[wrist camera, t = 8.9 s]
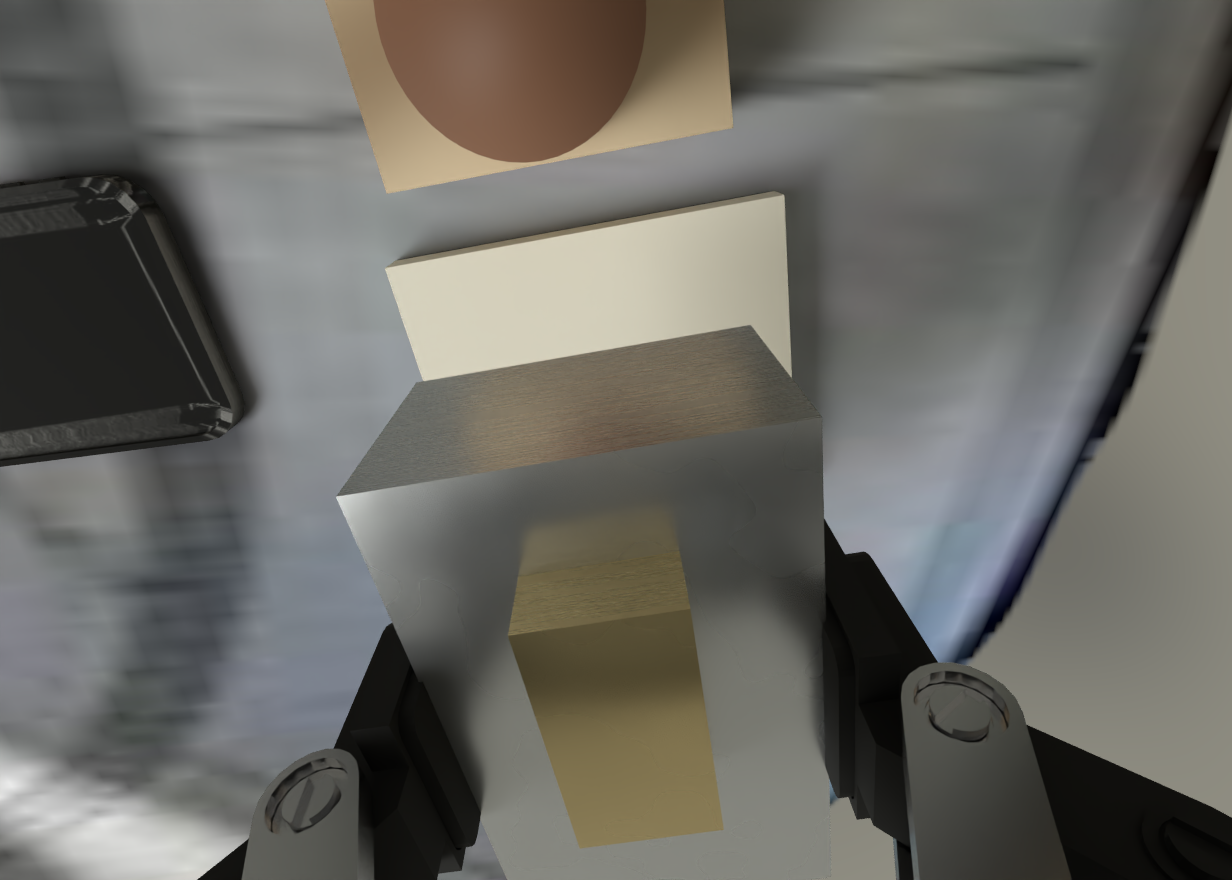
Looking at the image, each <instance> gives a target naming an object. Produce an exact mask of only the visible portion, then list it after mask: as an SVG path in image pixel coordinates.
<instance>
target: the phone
mask: <svg viewBox="0 0 1232 880" xmlns="http://www.w3.org/2000/svg"><path fill="white" fill-rule="evenodd" d="M39 181H40V183H37V184H30V185H25V183H24V182H17V183H10V184H3V185H0V467H3V466H11V465H19V464H26V463H34V462H42V461H50V460H58V459H66V458H74V457H82V456H90V455H98V454H106V453H114V452H122V451H130V450H138V449H146V448H154V447H161V446H169V445H177V444H185V443H193V442H201V441H209V440H213V439H216V438H219V437H221V436H222V435H223V434H225V433H226V432H227V431H229V430H230V429H231V428H232V427H233V426H235V425H236V424H237V423H238V422H239V421H240V419H241V418H242V416H243V414H244V407H245V402H244V399H243V395H242V392H241V390H240V387H239V385H238V383H237V381H236V378H235V376H234V374H233V371H232V369H231V367H230V365H229V362H228V360H227V358H226V356H225V353H224V351H223V349H222V346H221V344H220V342H219V340H218V337H217V335H216V333H215V331H214V328H213V326H212V324H211V321H210V319H209V317H208V315H207V312H206V310H205V308H204V306H203V303H202V301H201V299H200V296H199V294H198V292H197V290H196V287H195V285H194V283H193V281H192V278H191V276H190V274H189V271H188V269H187V267H186V265H185V262H184V260H183V258H182V256H181V253H180V251H179V249H178V246H177V244H176V242H175V240H174V237H173V235H172V233H171V231H170V228H169V226H168V224H167V221H166V219H165V217H164V215H163V213H162V211H161V210H160V208H159V206H158V205H157V203H156V201H155V200H154V199H153V198H152V197H151V196H150V195H149V194H148V193H147V192H146V191H145V190H144V189H143V188H141V187H140V186H138V185H137V184H135V183H133V182H132V181H130V180H128V179H125V178H122V177H119V176H116V175H97V176H88V177H79V178H72V179H66V178H65V177H57V178H50V179H43V180H39Z"/></svg>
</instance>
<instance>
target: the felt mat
mask: <svg viewBox="0 0 1232 880" xmlns="http://www.w3.org/2000/svg"><path fill="white" fill-rule="evenodd" d="M385 270H386V273H387V276H388V279H389V282H390V285H391V288H392V290H393V293H394V296H395V299H396V302H397V305H398V308H399V311H400V314H401V317H402V320H403V323H404V326H405V329H406V332H407V335H408V338H409V340H410V343H411V346H412V349H413V352H414V355H415V358H416V361H417V364H418V367H419V370H420V373H421V376H422V379H423V381H428V380H434V379H440V378H446V377H451V376H457V375H463V374H469V373H475V372H480V371H486V370H492V369H498V368H503V367H509V366H515V365H521V364H527V363H532V362H538V361H544V360H550V359H556V358H561V357H567V356H573V355H579V354H585V353H590V352H596V351H602V350H608V349H613V348H619V347H625V346H631V345H637V344H642V343H648V342H654V341H660V340H666V339H671V338H677V337H683V336H689V335H695V334H700V333H706V332H712V331H718V330H723V329H729V328H735V327H741V326H747V325H751V326H752V327H753V329H754V330H755V331H756V332H757V334H758V335H759V336H760V338H761V339H762V340H763V342H764V343H765V344H766V345H767V347H768V348H769V349H770V351H771V352H772V353H773V354H774V356H775V357H776V358H777V360H778V361H779V362H780V364H781V365H782V366H783V367H784V369H785V370H786V371H787V373H788V374H789V375H790V377H791V378H792V369H791V345H790V320H789V296H788V272H787V247H786V223H785V198H784V195H783V194H781V193H778V192H776V191H772V192H767V193H761V194H756V195H750V196H745V197H740V198H734V199H729V200H723V201H718V202H712V203H707V204H702V205H696V206H691V207H685V208H680V209H674V210H669V211H664V212H658V213H653V214H647V215H642V216H636V217H631V218H626V219H620V220H615V221H609V222H604V223H598V224H593V225H587V226H582V227H577V228H571V229H566V230H560V231H555V232H549V233H544V234H539V235H533V236H528V237H522V238H517V239H511V240H506V241H501V242H495V243H490V244H484V245H479V246H473V247H468V248H462V249H457V250H452V251H446V252H441V253H435V254H430V255H424V256H419V257H414V258H408V259H403V260H397V261H394V262H393V263H392V264H390V265H389V266H387V267H386V268H385Z"/></svg>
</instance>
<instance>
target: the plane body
mask: <svg viewBox="0 0 1232 880" xmlns="http://www.w3.org/2000/svg"><path fill="white" fill-rule="evenodd" d="M325 2H326V5H327V8H328V11H329V14H330V18H331V21H332V24H333V27H334V30H335V33H336V36H337V39H338V42H339V46H340V49H341V52H342V55H343V58H344V61H345V64H346V67H347V71H348V74H349V77H350V80H351V83H352V86H353V89H354V92H355V95H356V99H357V102H358V105H359V108H360V111H361V114H362V117H363V120H364V124H365V127H366V130H367V133H368V136H369V139H370V142H371V145H372V148H373V152H374V155H375V158H376V161H377V164H378V167H379V170H380V173H381V177H382V180H383V183H384V186H385V189H386V192H387V194H388V193H393V192H398V191H404V190H409V189H414V188H419V187H425V186H430V185H435V184H440V183H446V182H451V181H456V180H462V179H467V178H472V177H477V176H483V175H488V174H493V173H498V172H504V171H509V170H514V169H519V168H525V167H530V166H535V165H540V164H546V163H551V162H556V161H562V160H567V159H572V158H577V157H583V156H588V155H593V154H598V153H604V152H609V151H614V150H619V149H625V148H630V147H635V146H640V145H646V144H651V143H656V142H662V141H667V140H672V139H677V138H683V137H688V136H693V135H698V134H704V133H709V132H714V131H719V130H725V129H730V128H733V118H732V104H731V91H730V77H729V64H728V50H727V36H726V23H725V9H724V0H325Z"/></svg>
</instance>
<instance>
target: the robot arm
mask: <svg viewBox="0 0 1232 880" xmlns="http://www.w3.org/2000/svg"><path fill="white" fill-rule="evenodd" d="M824 550H825V600H826V623H822V653H823V694H824V735H825V767H826V770H827V773H828V776H829V779H830V782H831V784H832V787H833V790H834V792H835V794H836V796H837V797H838V798H844V797H849V799H850V802H851V805H852V808H853V810H854V813H855V816H856V818H857V819H865V818H871V820H872V823H873V825H874V826H876V827H877V828H879V829H880V830H882V831H884V832H885V833H887V834H889V835H890V836H892V837H893V844H894V856H895V870H896V880H1232V818H1231V817H1229V816H1227V815H1226V814H1224V813H1222V812H1220V811H1218V810H1216V809H1214V808H1213V807H1211V806H1208V805H1206V804H1203V803H1202V802H1199V801H1197V800H1195V799H1193V798H1190V797H1188V796H1186V795H1184V794H1181V793H1179V792H1177V791H1175V790H1172V789H1170V788H1168V787H1165V786H1163V785H1161V784H1159V783H1157V782H1154V781H1152V780H1150V779H1147V778H1145V777H1143V776H1141V775H1138V774H1136V773H1134V772H1132V771H1129V770H1127V769H1125V768H1123V767H1120V766H1118V765H1116V764H1114V763H1111V762H1109V761H1107V760H1105V759H1102V758H1100V757H1098V756H1095V755H1093V754H1091V753H1089V752H1086V751H1084V750H1082V749H1080V748H1078V747H1075V746H1073V745H1071V744H1069V743H1066V742H1064V741H1062V740H1060V739H1057V738H1055V737H1053V736H1050V735H1048V734H1046V733H1044V732H1042V731H1039V730H1037V729H1035V728H1033V727H1030V726H1028V725H1026V722H1025V718H1024V715H1023V712H1022V710H1021V708H1020V706H1019V704H1018V702H1017V700H1016V698H1015V697H1014V696H1013V695H1012V693H1011V692H1010V691H1009V690H1008V689H1007V688H1006V687H1005V686H1004V685H1003V684H1001V683H1000V682H999V681H997V680H996V679H994V678H993V677H991V676H990V675H988V674H987V673H984V672H982V671H979V670H977V669H975V668H972V667H970V666H965V665H961V664H956V663H938V662H937V660H936V659H935V657H934V656H933V654H932V652H931V651H930V649H929V648H928V646H927V644H926V643H925V641H924V640H923V638H922V637H921V635H920V633H919V632H918V630H917V629H916V627H915V626H914V624H913V622H912V621H911V619H910V618H909V616H908V614H907V613H906V611H905V610H904V608H903V607H902V605H901V603H900V602H899V600H898V599H897V597H896V596H895V594H894V592H893V591H892V589H891V588H890V586H889V584H888V583H887V581H886V580H885V578H884V577H883V575H882V573H881V572H880V570H879V569H878V567H877V566H876V564H875V562H874V561H873V559H872V558H871V557H870V555H869V554H868V553H866V552H858V553H852V554H844V552H843V550H842V548H841V547H840V545H839V543H838V542H837V540H836V538H835V536H834V535H833V533H832V531H831V529H830V528H829V526H828V524H827V522H826V521H825V519H824ZM480 816H481V812H480V809H479V807H478V805H477V803H476V800H475V798H474V796H473V794H472V791H471V789H470V787H469V785H468V782H467V780H466V778H465V775H464V773H463V771H462V769H461V766H460V764H459V762H458V760H457V757H456V755H455V753H454V751H453V748H452V746H451V744H450V742H449V739H448V737H447V735H446V733H445V730H444V728H443V726H442V724H441V721H440V719H439V717H438V715H437V712H436V710H435V708H434V706H433V703H432V701H431V699H430V697H429V694H428V692H427V690H426V687H425V685H424V683H423V682H419V681H418V679H417V677H416V674H415V672H414V670H413V668H412V665H411V663H410V661H409V659H408V656H407V654H406V652H405V650H404V647H403V645H402V643H401V641H400V639H399V636H398V634H397V632H396V630H395V627H394V625H393V623H391V624H389V625H388V626H387V627H386V628H385V630H384V631H383V633H382V635H381V638H380V640H379V642H378V645H377V647H376V650H375V652H374V654H373V657H372V659H371V661H370V664H369V666H368V668H367V671H366V673H365V676H364V678H363V680H362V683H361V685H360V687H359V690H358V692H357V694H356V697H355V699H354V702H353V704H352V706H351V709H350V711H349V713H348V716H347V718H346V720H345V723H344V725H343V728H342V730H341V732H340V735H339V737H338V739H337V742H336V744H335V746H334V749H324V750H320V751H317V752H313V753H310V754H308V755H306V756H304V757H303V758H301V759H299V760H297V761H295V762H294V763H292V764H291V765H290V766H289V767H287V768H286V769H285V770H283V771H282V772H281V773H280V774H279V775H278V776H277V777H276V778H275V779H274V780H273V781H272V782H271V783H270V784H269V786H268V787H267V788H266V790H265V791H264V793H263V795H262V796H261V798H260V799H259V801H258V803H257V806H256V809H255V812H254V815H253V818H252V824H251V830H250V835H249V839H248V840H247V841H245V842H244V843H243V844H242V845H240V846H239V847H238V848H237V849H235V850H234V851H233V852H231V853H230V854H229V855H228V856H226V857H225V858H224V859H223V860H221V861H220V862H219V863H218V864H216V865H215V866H214V867H213V868H211V869H210V870H209V871H208V872H206V873H205V874H204V875H203V876H201V877H200V878H199V879H198V880H437V877H438V874H439V873H447V872H454V871H462V865H463V860H464V854H465V849H466V847H470V846H473V845H474V844H475V841H476V838H477V834H478V828H479V822H480Z"/></svg>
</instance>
